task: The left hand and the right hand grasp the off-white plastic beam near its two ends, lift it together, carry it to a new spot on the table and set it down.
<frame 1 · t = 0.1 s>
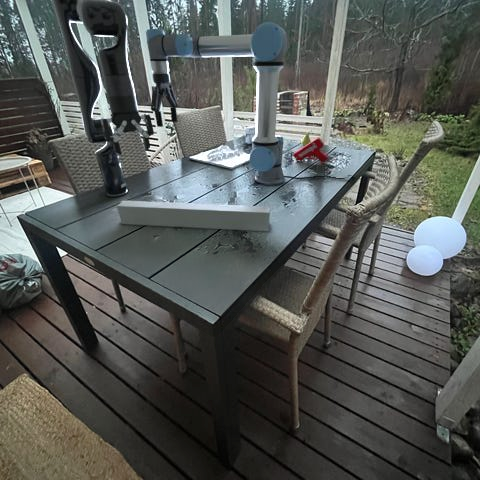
left hand: (133, 152, 85), 29 cm above the table, tool pointing down, fingers open, 8 cm apart
right hand: (167, 124, 132), 28 cm above the table, tool pointing down, fingers open, 13 cm apart
relief map: (223, 158, 179), on the table
toy gun: (309, 162, 171), on the table
fruit: (305, 147, 204), on the table
beam: (194, 224, 105), on the table
ink box: (251, 142, 216), on the table
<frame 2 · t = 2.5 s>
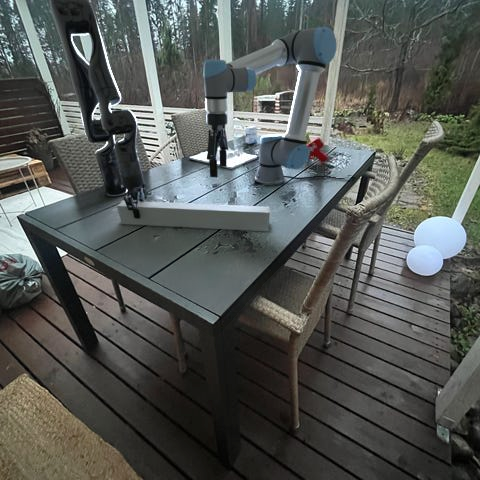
left hand: (140, 214, 105), 3 cm above the table, tool pointing down, fingers closed on beam, 5 cm apart
right hand: (218, 171, 107), 17 cm above the table, tool pointing down, fingers open, 13 cm apart
beam: (194, 224, 105), on the table, touching left hand
everything else where it was.
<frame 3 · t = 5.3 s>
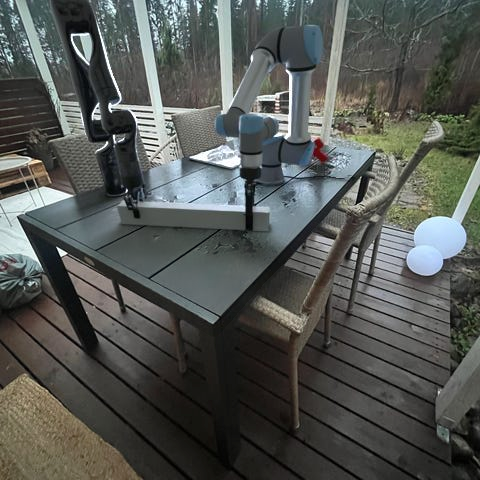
left hand: (140, 214, 105), 3 cm above the table, tool pointing down, fingers closed on beam, 5 cm apart
right hand: (249, 225, 103), 1 cm above the table, tool pointing down, fingers closed on beam, 5 cm apart
beam: (194, 224, 105), on the table, touching right hand, left hand
everything else where it was.
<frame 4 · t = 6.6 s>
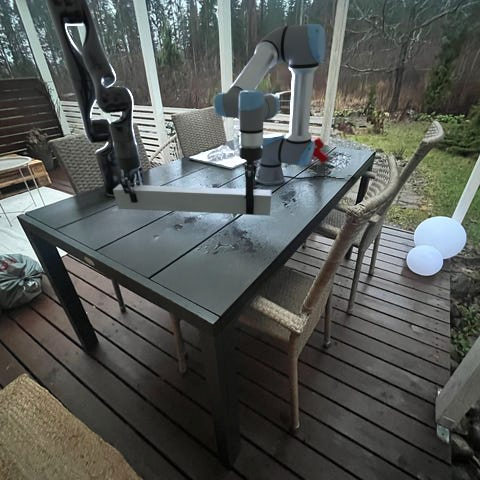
left hand: (137, 198, 102), 10 cm above the table, tool pointing down, fingers closed on beam, 5 cm apart
right hand: (250, 210, 100), 7 cm above the table, tool pointing down, fingers closed on beam, 5 cm apart
beam: (193, 209, 102), point 6 cm above the table, touching right hand, left hand
everything else where it was.
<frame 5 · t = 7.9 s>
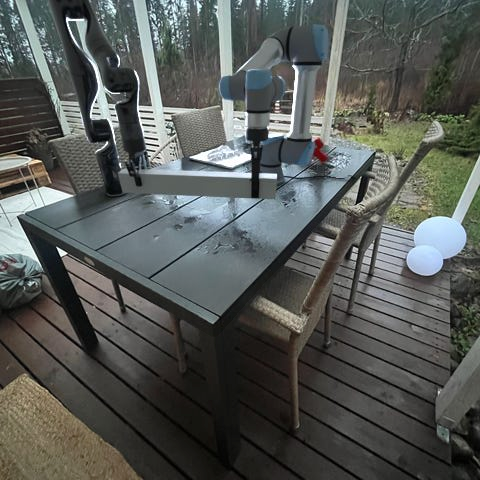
left hand: (142, 183, 102), 15 cm above the table, tool pointing down, fingers closed on beam, 5 cm apart
right hand: (255, 194, 99), 12 cm above the table, tool pointing down, fingers closed on beam, 5 cm apart
beam: (198, 193, 101), point 12 cm above the table, touching right hand, left hand
everything else where it was.
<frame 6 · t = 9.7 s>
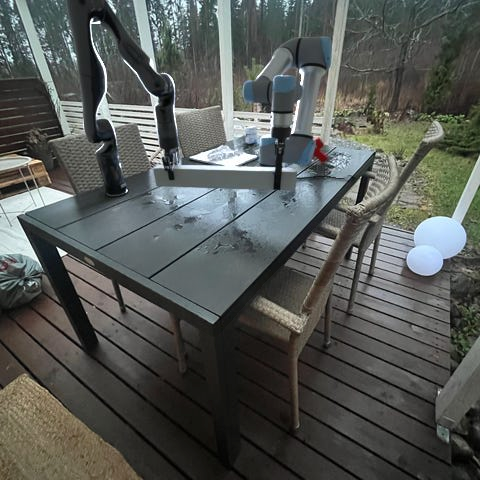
left hand: (173, 177, 113), 13 cm above the table, tool pointing down, fingers closed on beam, 5 cm apart
right hand: (276, 186, 110), 10 cm above the table, tool pointing down, fingers closed on beam, 5 cm apart
beam: (224, 186, 112), point 10 cm above the table, touching right hand, left hand
everything else where it was.
when the right hand's fingers open (2 cm above the table, at t = 10.8 s): beam drops 2 cm, on the table.
when the left hand's fingers open (5 cm above the table, at t = 11.0 s): beam stays where it is, on the table.
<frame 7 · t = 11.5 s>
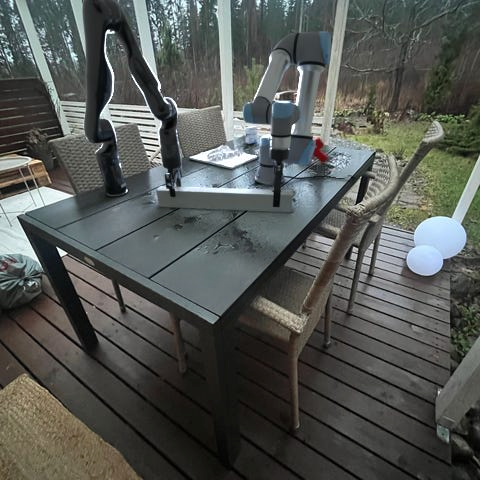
left hand: (176, 192, 117), 6 cm above the table, tool pointing down, fingers open, 8 cm apart
right hand: (276, 199, 113), 4 cm above the table, tool pointing down, fingers open, 13 cm apart
beam: (224, 207, 118), on the table
everything else where it was.
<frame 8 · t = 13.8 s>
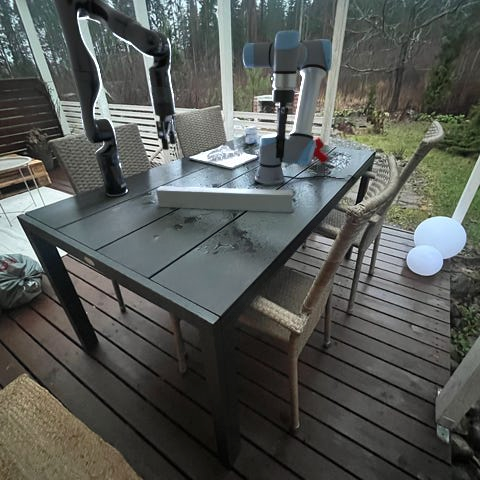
left hand: (169, 146, 106), 25 cm above the table, tool pointing down, fingers open, 8 cm apart
right hand: (279, 152, 103), 24 cm above the table, tool pointing down, fingers open, 13 cm apart
nothing on the table moved.
at the end: beam inside the target area (0.6 cm from its centre), on the table; beam tilted 0°; beam never tilted more than 2° during the clip; both hands held the beam at the same time; the left hand is holding nothing; the right hand is holding nothing; beam at rest at the end (0.0 cm/s) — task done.
